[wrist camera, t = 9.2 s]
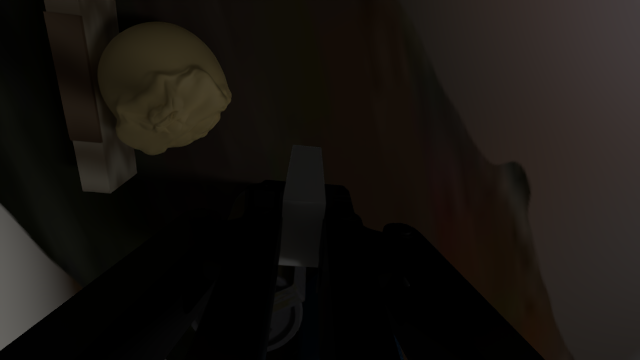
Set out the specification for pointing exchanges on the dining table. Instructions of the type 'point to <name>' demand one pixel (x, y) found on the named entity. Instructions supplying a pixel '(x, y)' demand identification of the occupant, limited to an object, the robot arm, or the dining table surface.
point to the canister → (278, 295)
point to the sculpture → (161, 86)
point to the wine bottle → (313, 325)
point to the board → (88, 90)
